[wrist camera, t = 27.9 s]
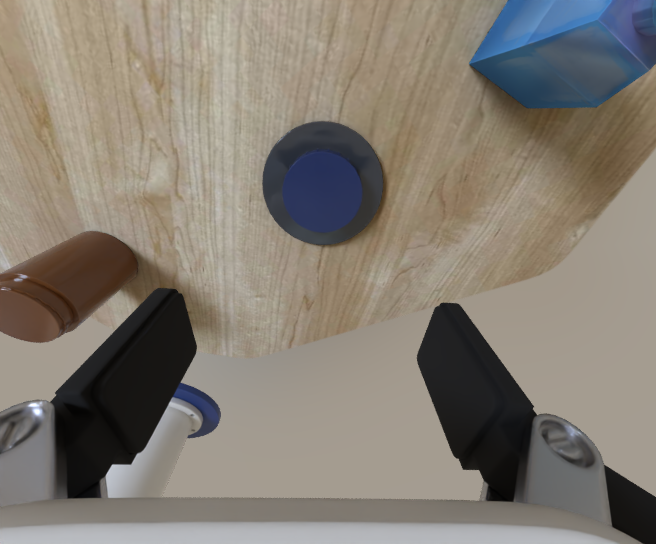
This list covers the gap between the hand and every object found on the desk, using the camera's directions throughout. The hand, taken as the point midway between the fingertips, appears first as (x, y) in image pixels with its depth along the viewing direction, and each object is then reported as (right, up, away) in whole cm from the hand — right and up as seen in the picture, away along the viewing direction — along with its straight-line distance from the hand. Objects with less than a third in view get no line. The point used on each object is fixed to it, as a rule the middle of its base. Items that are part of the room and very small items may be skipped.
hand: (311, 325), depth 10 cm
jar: (-23, +4, +18) cm, 30 cm away
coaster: (0, +10, +14) cm, 17 cm away
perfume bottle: (+15, +19, +9) cm, 26 cm away
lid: (0, +9, +12) cm, 15 cm away
